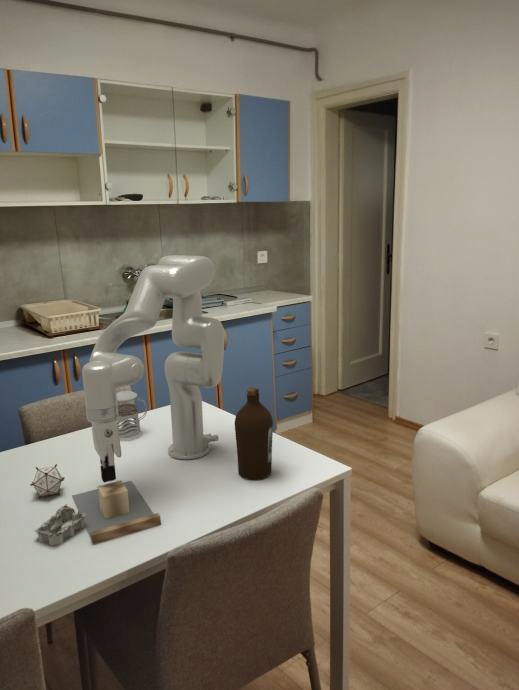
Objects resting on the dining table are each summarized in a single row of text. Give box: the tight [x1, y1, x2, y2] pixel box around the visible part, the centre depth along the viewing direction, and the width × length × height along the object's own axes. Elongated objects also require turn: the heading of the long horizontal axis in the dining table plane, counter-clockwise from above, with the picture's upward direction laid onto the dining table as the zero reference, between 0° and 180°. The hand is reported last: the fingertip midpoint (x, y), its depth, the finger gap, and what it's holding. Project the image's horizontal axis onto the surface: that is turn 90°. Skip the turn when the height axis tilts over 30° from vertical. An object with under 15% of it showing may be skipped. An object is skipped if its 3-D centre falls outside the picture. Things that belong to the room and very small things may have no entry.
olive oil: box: [234, 386, 274, 481], centre depth 156 cm, size 11×11×25 cm
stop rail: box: [90, 512, 162, 545], centre depth 131 cm, size 16×2×2 cm, turn 118°
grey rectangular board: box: [71, 480, 155, 540], centre depth 142 cm, size 16×24×1 cm
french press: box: [116, 388, 148, 442], centre depth 184 cm, size 10×12×25 cm
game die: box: [29, 463, 66, 499], centre depth 148 cm, size 9×8×10 cm
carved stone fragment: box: [34, 503, 87, 546], centre depth 131 cm, size 11×8×4 cm
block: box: [96, 480, 129, 519], centre depth 140 cm, size 6×6×6 cm
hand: (108, 479), depth 141 cm, fingers closed
